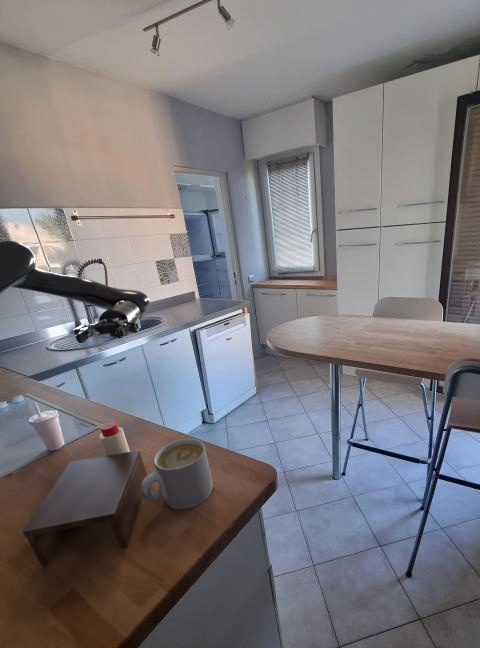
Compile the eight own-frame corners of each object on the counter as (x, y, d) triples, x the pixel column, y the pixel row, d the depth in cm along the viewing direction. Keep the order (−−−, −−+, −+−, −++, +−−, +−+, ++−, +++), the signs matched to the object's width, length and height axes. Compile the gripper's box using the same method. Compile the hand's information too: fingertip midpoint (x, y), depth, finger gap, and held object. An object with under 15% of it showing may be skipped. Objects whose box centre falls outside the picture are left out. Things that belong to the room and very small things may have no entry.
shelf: (41, 565, 57) (22, 531, 54) (82, 491, 74) (69, 462, 70) (127, 546, 60) (114, 513, 56) (148, 478, 76) (139, 450, 73)
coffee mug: (206, 469, 77) (197, 433, 73) (219, 495, 69) (210, 456, 65) (144, 493, 72) (132, 455, 68) (151, 525, 64) (137, 485, 60)
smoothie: (36, 451, 89) (15, 405, 83) (60, 437, 94) (41, 394, 89) (52, 455, 86) (31, 409, 81) (75, 441, 92) (57, 396, 86)
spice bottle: (109, 475, 78) (93, 432, 73) (115, 462, 82) (100, 421, 77) (131, 471, 78) (116, 429, 74) (136, 459, 83) (122, 418, 78)
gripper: (87, 309, 89) (59, 324, 75) (142, 303, 92) (127, 317, 77) (95, 335, 92) (71, 355, 78) (149, 329, 95) (135, 347, 80)
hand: (99, 336), depth 77 cm, fingers open, 8 cm apart
